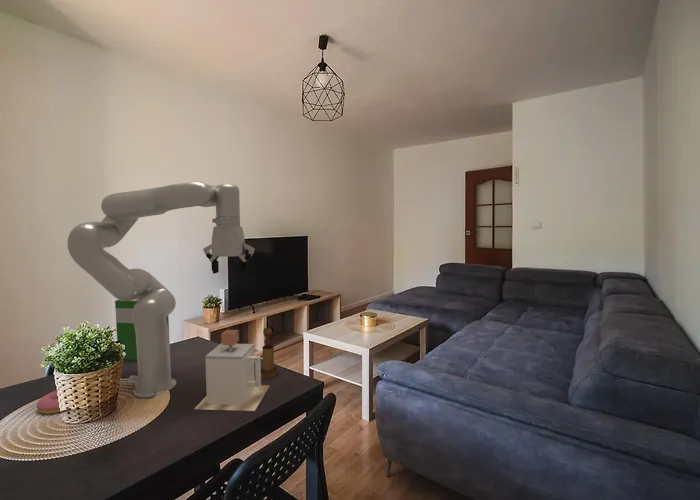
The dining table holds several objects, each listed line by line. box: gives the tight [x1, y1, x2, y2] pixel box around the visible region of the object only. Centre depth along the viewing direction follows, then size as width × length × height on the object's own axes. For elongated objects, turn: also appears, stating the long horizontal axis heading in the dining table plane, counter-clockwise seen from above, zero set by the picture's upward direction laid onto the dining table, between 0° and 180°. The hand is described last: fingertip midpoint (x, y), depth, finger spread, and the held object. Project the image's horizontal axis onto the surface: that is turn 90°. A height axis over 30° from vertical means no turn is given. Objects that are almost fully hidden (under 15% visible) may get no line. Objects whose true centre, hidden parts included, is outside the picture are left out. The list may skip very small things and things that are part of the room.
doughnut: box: [36, 390, 61, 415], centre depth 107 cm, size 11×11×4 cm
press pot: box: [205, 343, 262, 405], centre depth 111 cm, size 15×11×15 cm
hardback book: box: [114, 298, 170, 361], centre depth 146 cm, size 18×7×24 cm, turn 84°
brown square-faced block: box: [220, 329, 240, 351], centre depth 111 cm, size 8×8×19 cm
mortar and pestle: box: [261, 327, 279, 379], centre depth 126 cm, size 7×6×18 cm
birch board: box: [194, 384, 271, 412], centre depth 111 cm, size 18×16×1 cm
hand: (229, 273), depth 119 cm, fingers open, 9 cm apart
